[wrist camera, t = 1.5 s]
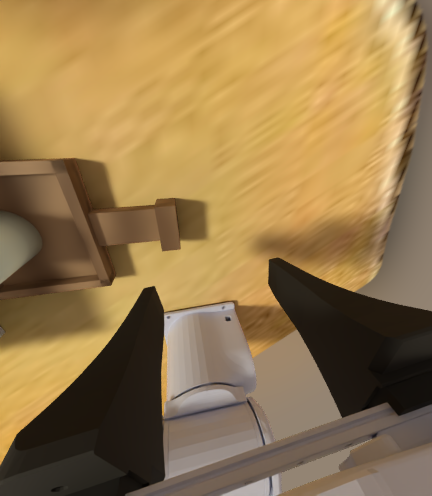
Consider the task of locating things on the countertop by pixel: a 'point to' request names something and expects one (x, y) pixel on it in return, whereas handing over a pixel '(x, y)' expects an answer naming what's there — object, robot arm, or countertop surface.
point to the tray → (73, 227)
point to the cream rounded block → (16, 243)
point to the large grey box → (1, 332)
